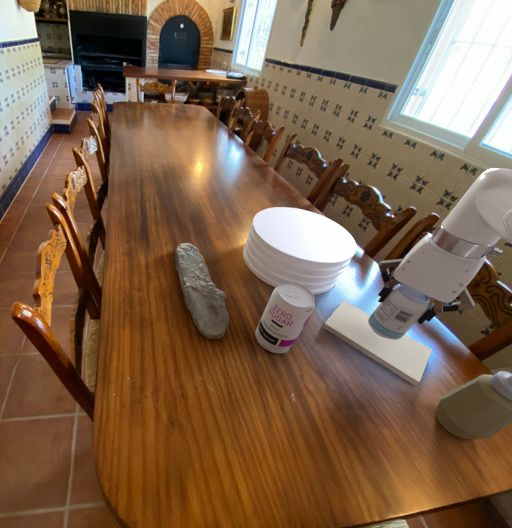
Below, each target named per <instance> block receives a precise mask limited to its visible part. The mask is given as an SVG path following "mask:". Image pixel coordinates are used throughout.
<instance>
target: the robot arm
mask: <svg viewBox="0 0 512 528" xmlns="http://www.w3.org/2000/svg"><path fill="white" fill-rule="evenodd" d="M500 239H502V240H503V241H505V242H507V243H508V244H510V245H512V169H510V168H504V167H503V168H502V167H498V168H497V167H495V168H489V169H487V170H485V171H483V172H481V174H479V176H478V177H477V178H476V179H475V181H473V183H472V184H471V185H470V187H469V188H468V189H467V190H466V192H465V193H464V195H462V197H461V198H460V200H458V201H457V203H456V205H454V207H453V208H452V209H451V210H450V212H449V213H448V214H447V216H446V217H445V219H443V221H442V222H441V224H439V226H438V227H437V228H436V230H434V232H433V233H432V234H431V233H428V234H426V235H425V236H423V237H422V238H421V239H420V240H419V241H418V242H416V244H415V245H414V246H413V247H412V248H410V250H409V252H407V254H405V256H404V257H403V258H397V259H387V260H386V259H385V260H381V261H380V262H379V263H378V269H379V272H380V277H381V279H382V281H383V287H382V288H381V290H380V291H379V292H378V294H377V296H379V298H378V300H377V302H378V303H382V302H383V300H384V299H385V298H386V297H387V295H388V294H389V293H390V292H391V290H392V289H393V288H395V287H396V286H397V285H398V286H399V285H401V284H405V285H407V286H409V287H411V288H413V289H415V290H417V291H419V292H421V293H423V294H425V295H427V296H430V298H431V299H434V302H432V303H430V304H429V309H428V310H427V312H426V313H425V314H424V315H423V316H422V317H421V318H420V319H419V320H418V321H417V323H418V324H419V325H422V324H424V322H425V321H426V322H428V323H430V321H432V319H433V318H435V316H437V315H438V314H442V313H447V312H448V313H450V312H451V313H452V312H458V311H467V310H473V309H474V308H475V305H476V303H475V301H474V300H473V298H472V295H471V294H470V292H469V290H468V289H467V286H468V285H470V283H471V282H472V281H473V279H475V276H477V274H478V273H479V271H480V269H481V268H483V267H482V266H483V265H484V264H485V262H486V260H487V256H490V257H491V256H493V257H495V258H498V257H499V256H500V255H502V253H503V252H504V250H503V249H501V248H499V247H498V246H497V243H498V241H500ZM390 268H395V270H394V272H393V273H391V271H390ZM457 297H459V300H460V301H454V300H455V299H456V298H457Z"/></svg>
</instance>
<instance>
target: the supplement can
mask: <svg viewBox="0 0 512 528" xmlns="http://www.w3.org/2000/svg"><path fill="white" fill-rule="evenodd" d="M315 305H316V304H315V295H313V294H312V292H311V291H309V290H308V289H307V288H306V287H304V286H302V285H300V284H297V283H293V282H285V283H282V284H280V286H278V287H274V289H273V290H272V293H271V295H270V297H269V299H268V301H267V304H266V306H265V309H264V310H263V313H262V316H261V317H260V320H259V322H258V325H257V327H256V329H255V333H254V335H255V338H256V341H257V342H258V343H259V345H260V346H261V347H263V349H265V350H267V351H268V352H271V353H273V354H286V353H287V352H289V351H291V349H292V347H293V346H294V344H295V342H297V341H296V340H297V339H298V337H299V335H300V334H301V332H302V331H303V329H304V328H305V325H306V324H307V322H308V321H309V318H310V317H311V315H312V314H313V312H314V310H315V308H316V306H315Z"/></svg>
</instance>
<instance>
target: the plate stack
mask: <svg viewBox="0 0 512 528" xmlns="http://www.w3.org/2000/svg"><path fill="white" fill-rule="evenodd" d="M247 234H248V235H247V238H246V241H245V243H244V247H243V251H242V259H243V262H244V263H245V265H246V266H247V268H248V269H249V271H250V272H251V273H252V274H253V275H254V276H256V277H257V278H258V279H259V280H261V281H263V282H264V283H266V284H267V285H269V286H271V287H273V288H276V287H278V286H280V284H282V283H285V282H293V283H297V284H300V285H302V286H304V287H306V288H307V289H308V290H309V291H311V292H312V294H313V296H315V295H316V296H317V295H321V294H326V293H327V292H329V291H331V290H332V289H334V288H335V286H336V285H337V283H338V281H339V280H340V278H341V277H342V275H343V273H344V272H345V270H346V268H348V265H349V264H350V262H351V260H352V259H353V257H354V256H355V254H356V252H357V243H356V241H355V239H354V237H353V236H352V235H351V233H350V232H349V231H348V230H347V229H345V227H343V226H341V224H339V223H337V222H336V221H334V220H332V219H330V218H328V217H326V216H324V215H321V214H319V213H316V212H313V211H310V210H306V209H301V208H297V207H288V206H276V207H269V208H268V207H267V208H265V209H262V210H260V211H259V212H257V213H256V214H255V215H254V216H253V218H252V222H251V225H250V227H249V232H248V233H247Z"/></svg>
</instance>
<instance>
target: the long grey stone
mask: <svg viewBox="0 0 512 528" xmlns="http://www.w3.org/2000/svg"><path fill="white" fill-rule="evenodd" d="M174 261H175V267H174V268H175V271H176V273H177V274H178V278H179V286H180V287H181V288H180V289H181V291H182V294H183V298H184V303H185V306H186V308H187V310H188V312H189V313H190V315H191V318H192V321H193V324H194V325H195V327H196V329H197V330H198V332H199V333H200V334H201V335H202V336H203V337H204V338H205V339H208V340H219V339H222V338H223V337H224V336H225V334H226V331H227V328H228V326H229V324H230V313H229V312H228V310H227V305H226V302H225V300H226V299H227V297H228V296H227V294H226V293H227V292H225V291H222V290H221V289H218V288H217V285H216V283H213V280H212V278H211V274H210V270H209V269H208V265H207V263H206V261H205V259H204V257H203V255H202V254H201V253H200V252H199V249H198V246H195V245H194V244H192V243H188V242H183V243H180V244H178V245H177V246H176V249H175V251H174Z"/></svg>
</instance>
